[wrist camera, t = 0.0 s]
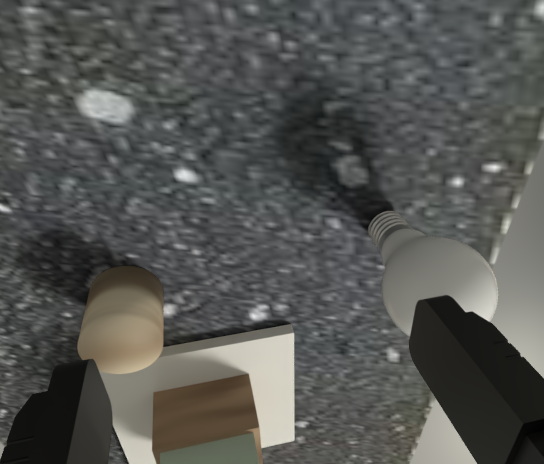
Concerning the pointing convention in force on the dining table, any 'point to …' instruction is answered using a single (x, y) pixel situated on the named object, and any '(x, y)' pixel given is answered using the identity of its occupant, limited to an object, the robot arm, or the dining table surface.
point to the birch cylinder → (123, 320)
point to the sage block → (216, 452)
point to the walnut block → (204, 414)
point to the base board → (203, 368)
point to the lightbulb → (429, 271)
